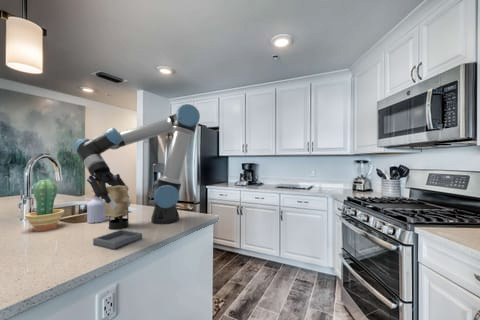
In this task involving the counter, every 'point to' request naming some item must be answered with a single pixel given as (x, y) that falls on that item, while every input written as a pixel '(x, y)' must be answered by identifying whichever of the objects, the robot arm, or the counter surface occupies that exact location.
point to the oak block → (117, 201)
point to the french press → (118, 222)
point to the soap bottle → (96, 210)
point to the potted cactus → (44, 206)
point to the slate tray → (117, 239)
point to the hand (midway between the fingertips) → (122, 206)
